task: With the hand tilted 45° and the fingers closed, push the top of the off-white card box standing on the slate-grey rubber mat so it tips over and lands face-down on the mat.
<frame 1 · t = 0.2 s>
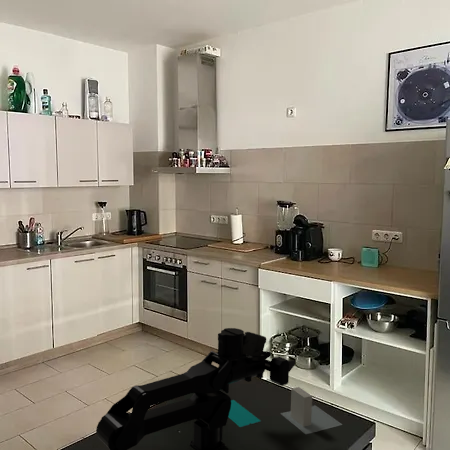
hand: (282, 357, 127), 16 cm above the table, tool horizontal, fingers open, 9 cm apart
flat teal tile: (236, 416, 129), on the table
mat: (310, 420, 126), on the table
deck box: (300, 420, 125), resting on mat
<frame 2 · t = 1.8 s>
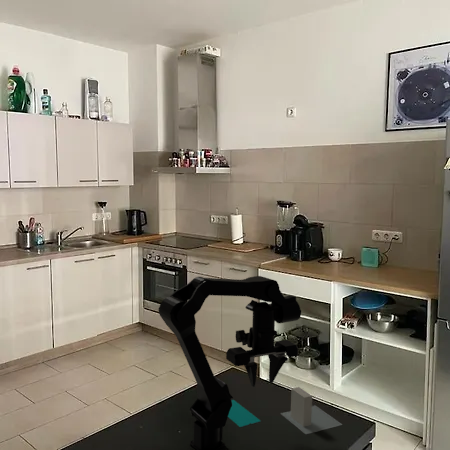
hand: (262, 384, 120), 12 cm above the table, tool pointing down, fingers open, 5 cm apart
nothing on the table moved.
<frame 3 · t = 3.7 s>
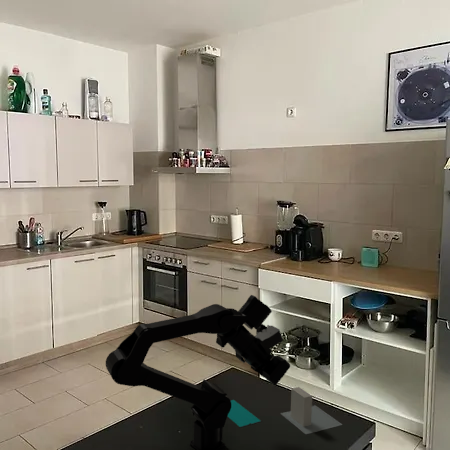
hand: (279, 378, 121), 13 cm above the table, tool tilted 45°, fingers closed
nothing on the table moved.
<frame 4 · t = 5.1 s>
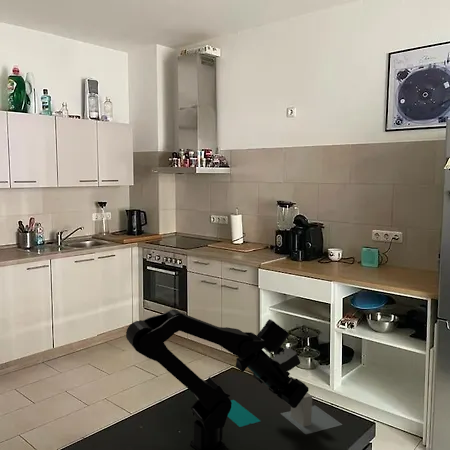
hand: (297, 399, 124), 7 cm above the table, tool tilted 45°, fingers closed, pressing on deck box
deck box: (300, 420, 125), resting on mat, touching gripper
everything else where it was.
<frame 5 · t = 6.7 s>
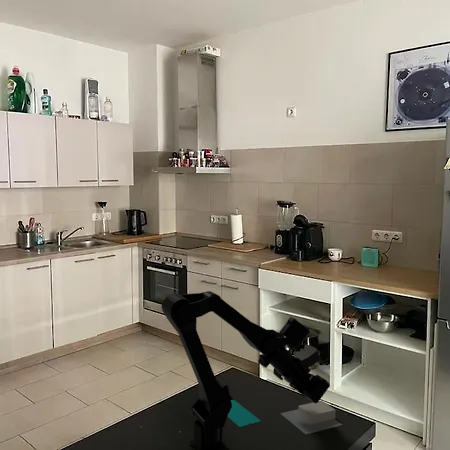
hand: (316, 395, 127), 7 cm above the table, tool tilted 45°, fingers closed
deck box: (304, 415, 125), point 2 cm above the table, tilted 90°, touching mat
everything else where it was.
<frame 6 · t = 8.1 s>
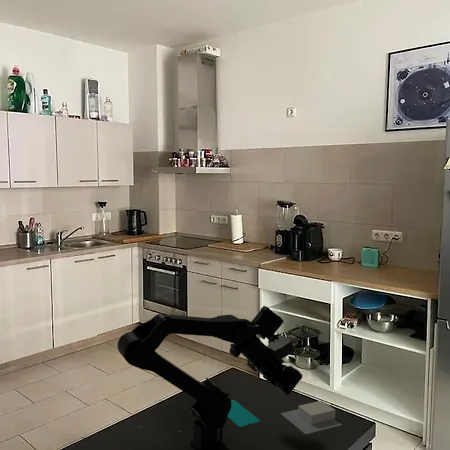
hand: (291, 388, 123), 10 cm above the table, tool tilted 45°, fingers closed
nothing on the table moved.
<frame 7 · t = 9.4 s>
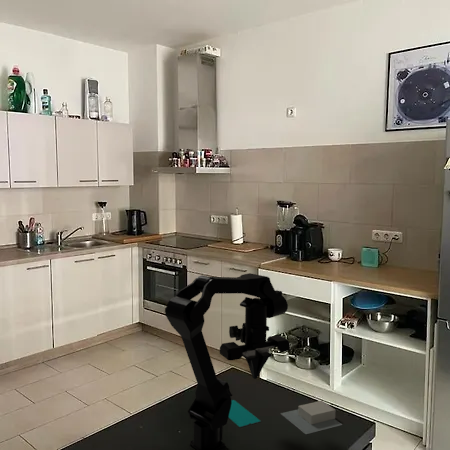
hand: (254, 378, 124), 12 cm above the table, tool pointing down, fingers closed
nothing on the table moved.
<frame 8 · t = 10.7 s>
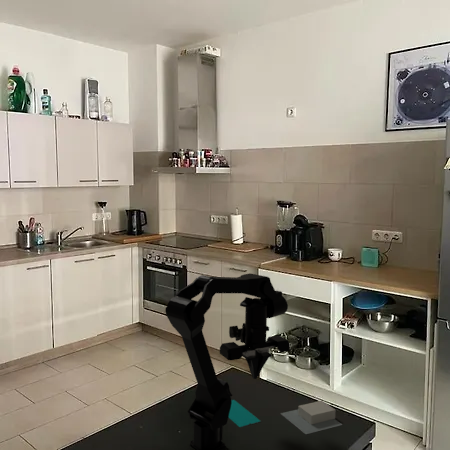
hand: (254, 378, 124), 12 cm above the table, tool pointing down, fingers closed
nothing on the table moved.
at the end: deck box tilted 90°; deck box inside the target area on the mat (2.2 cm from its centre), point 1.7 cm above the mat's base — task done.
